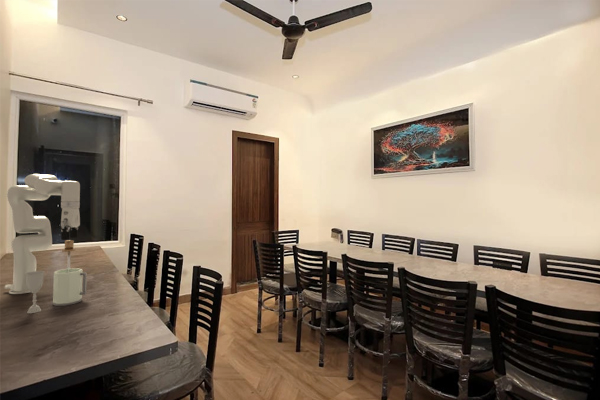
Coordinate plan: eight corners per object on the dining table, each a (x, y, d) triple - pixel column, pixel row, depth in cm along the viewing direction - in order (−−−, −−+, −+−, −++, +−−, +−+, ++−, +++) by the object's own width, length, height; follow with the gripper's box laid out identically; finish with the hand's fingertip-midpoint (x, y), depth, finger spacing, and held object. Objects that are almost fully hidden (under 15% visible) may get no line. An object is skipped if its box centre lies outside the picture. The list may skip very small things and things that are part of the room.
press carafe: (48, 306, 145) (49, 273, 145) (59, 299, 156) (60, 268, 156) (80, 304, 149) (81, 272, 149) (89, 297, 160) (90, 267, 160)
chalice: (47, 309, 141) (48, 271, 141) (30, 314, 134) (31, 275, 134) (37, 307, 143) (38, 270, 143) (20, 312, 137) (21, 273, 137)
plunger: (59, 284, 148) (60, 241, 149) (64, 281, 154) (65, 240, 154) (72, 283, 150) (73, 241, 150) (76, 280, 155) (78, 239, 156)
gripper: (71, 205, 145) (71, 240, 145) (85, 205, 162) (85, 236, 161) (53, 205, 143) (52, 240, 143) (69, 205, 159) (68, 237, 159)
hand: (69, 238), depth 152 cm, fingers open, 9 cm apart
